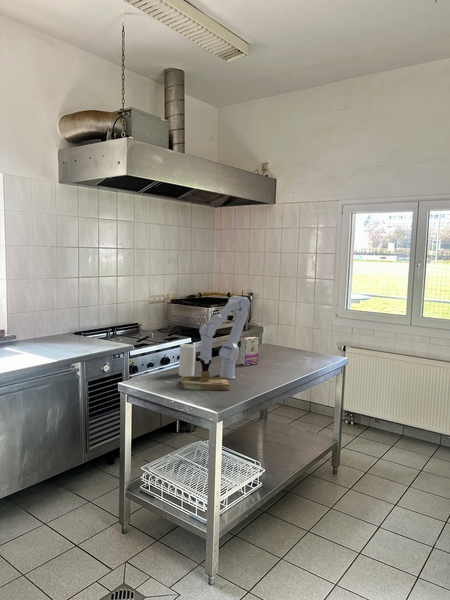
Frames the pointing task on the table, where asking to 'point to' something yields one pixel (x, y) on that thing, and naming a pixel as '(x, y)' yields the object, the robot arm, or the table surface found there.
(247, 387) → the table surface
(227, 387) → the trap tray
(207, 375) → the walnut cube
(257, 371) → the table surface
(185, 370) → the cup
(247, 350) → the candy bar box
